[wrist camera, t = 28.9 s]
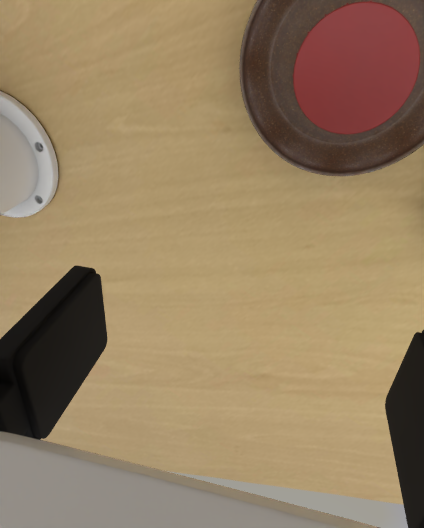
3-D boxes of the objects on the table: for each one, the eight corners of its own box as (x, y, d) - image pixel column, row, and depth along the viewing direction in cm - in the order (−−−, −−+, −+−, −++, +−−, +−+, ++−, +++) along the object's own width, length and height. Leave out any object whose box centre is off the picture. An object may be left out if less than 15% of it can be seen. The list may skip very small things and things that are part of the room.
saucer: (475, 133, 28) (489, 142, 26) (276, 187, 34) (273, 198, 31) (457, -125, 22) (472, -142, 20) (218, -6, 28) (209, -9, 25)
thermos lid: (350, -25, 23) (353, -32, 20) (436, 54, 24) (451, 58, 21) (274, 80, 27) (268, 86, 24) (351, 145, 28) (354, 158, 25)
